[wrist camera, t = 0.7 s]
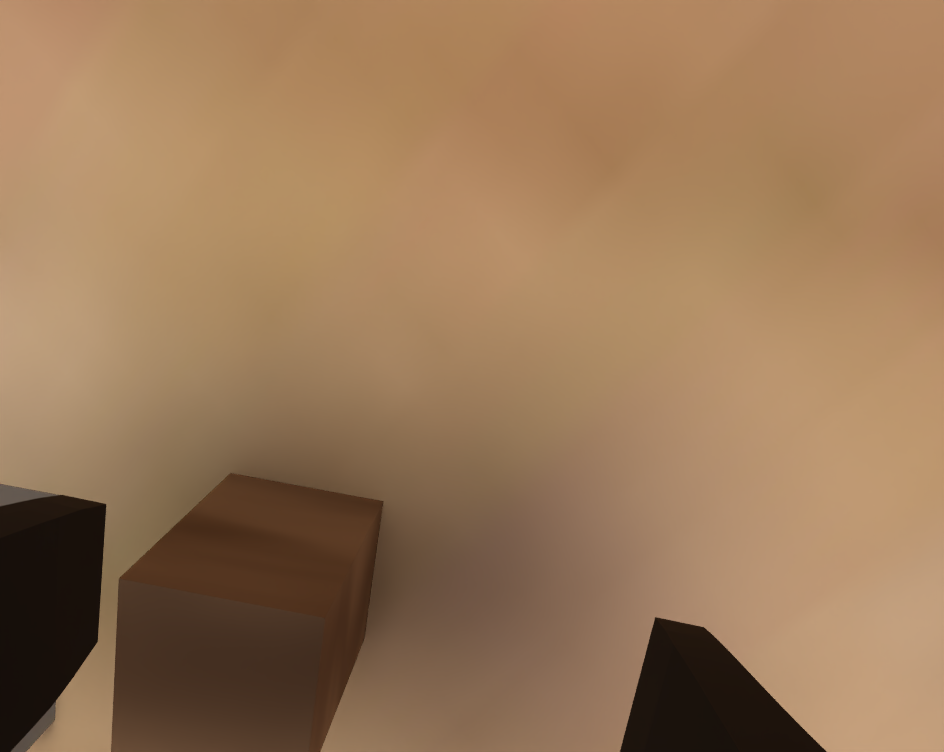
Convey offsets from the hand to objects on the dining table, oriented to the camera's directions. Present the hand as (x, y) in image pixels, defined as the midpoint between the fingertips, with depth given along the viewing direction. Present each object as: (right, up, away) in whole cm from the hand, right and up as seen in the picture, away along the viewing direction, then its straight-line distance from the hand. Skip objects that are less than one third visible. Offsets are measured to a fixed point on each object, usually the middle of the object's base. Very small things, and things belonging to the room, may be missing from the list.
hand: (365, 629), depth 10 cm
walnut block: (-3, -1, +11) cm, 11 cm away
